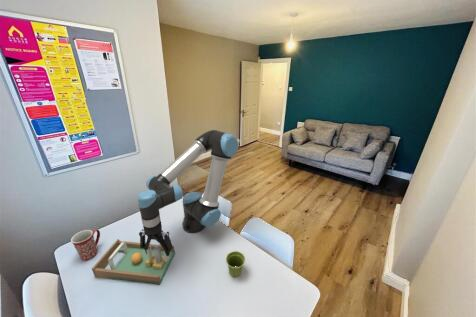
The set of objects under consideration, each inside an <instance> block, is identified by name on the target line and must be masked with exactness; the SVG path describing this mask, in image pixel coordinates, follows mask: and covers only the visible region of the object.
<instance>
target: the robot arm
mask: <svg viewBox="0 0 476 317" xmlns="http://www.w3.org/2000/svg"><path fill="white" fill-rule="evenodd" d="M210 150H211V152H210V156H211V157H212V158H211V159H212V160H211V163H210V167H209V170H208V174H207V179H206V182H205V187H204V190H203V195H202V193H201V192H199V191H191V192H188V193H186V194H185V195H184V192H183V189H182V187H181V186H180V185H179V184H174V185H171V184H172V183H173V182H174V181H175V180H176V179H177V178H178V177H179V176H180V175H182V173H184V171H186V169H187V168H189V167H190V166H191V165H192V164H193V163H194V162H195V161H196V160H197V159H198V158H199V157H200V156H201V155H202V154H206V153H207V152H209V151H210ZM238 150H239V141H238V138H237V137H236V136H235V135H234V134H231V133H228V132H223V131H219V130H216V129H211V130H208V131H205V132H204V133H202V134H200V135H199V136H198V137H197V138H196V139H194V140H193V143H192V145H190V146H189V147H188V148H187V149H186V150H185V151H183V153H182V154H179V156H178V157H177V158H176V159H174V160H173V161H172V162H171V163H170V164H169V165H168V166H167V167H165V169H164V170H162V171H161V172H160V173H159V174H158V175H153V176H152V175H151V176H150V177H149V178H147V180H146V187H147V189H148V190H144V191H141V192H139V194H138V195H137V205H138V206H137V207H138V209H139V213H140V218H141V223H142V227H143V229H141V230H140V232H138V235H139V243H140V248H141V249H142V248H144V250H145V252H146V254H147V255H148V260H151V258H152V256H153V254H152V250H151V246H149V245H150V244H151V242H152V240H155V241H156V242H157V243H159V245H161V246H162V248H163V249H164V258H165V262H167V261H168V259H169V254H170V251H171V250H172V248H173V246H174V245H173V243H172V240H171V238H170V232H169V231H166V232H164V230H162V229H163V226H162V219H161V216H160V214H161V213H160V210H161V209H163V208H165V207H167V206H169V205H172V204H174V203H176V202H178V201H180V200H181V199H182V208H183V220H182V224H181V225H182V229H183V231H185V232H187V233H188V234H190V233H191V234H196V233H199V232H201V231H202V230H204V229H205V228H206V227H207V228H210V227H213V226H214V225H216V224H217V223H218V222H219V220H220V219H221V215H222V214H221V210H220V209H219V207H220V203H219V202H220V201H219V196H220V192H221V188H222V184H223V180H224V176H225V173H226V168H227V165H228V161H230V160H231V159H232V157H235V155H236V154H237V152H238ZM146 236H147V239H146ZM145 243H146V244H145Z"/></svg>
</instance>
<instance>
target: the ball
mask: <svg viewBox="0 0 476 317" xmlns="http://www.w3.org/2000/svg"><path fill="white" fill-rule="evenodd" d="M141 260H142V255H141V253H135V254H133V255H132V257H131V261H132V263H134V264H137V263H139V262H140V261H141Z"/></svg>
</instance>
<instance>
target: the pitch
mask: <svg viewBox="0 0 476 317" xmlns="http://www.w3.org/2000/svg"><path fill="white" fill-rule="evenodd" d="M145 244H146V242H145ZM156 245H157V244H153V243H150V245H149V246H151V250H152V254H154V249H153V248H154V246H156ZM159 245H160V244H159ZM160 249H161V254H162V256H164V249H163V248H162V246H161V245H160ZM118 253H122V254H124V255H123V257H122V258H121V259H120V260H119V262H117V265H115V264H114V259H113V258H115V256H116V255H117V254H118ZM135 253H141V255H142V260H141V261H140V262H139V263H137V264H134V263H132V261H131V257H132V255H133V254H135ZM175 255H176V249H175V245H173V248H172V250H171V251H170V254H169V259H168V261H167V262H164V264H163V266H162V268H161V269H153V264H151V266H150V267H146V265H145V262H146V260H147V258H148V255H147V254H146V252H145V250H144V248H142V249H141V248H140V242H133V241H126V240H120V239H116V240H115V242H114V243H112V245H111V246H110V247H109V248H108V249H107V251H106V252H105V253H104V254H103V255H102V256H101V257H100V258H99V260H98V261H97V262H96V263H95V264H94V265H93V266H92V267H91V271H92V273H93V275H94V278H98V279H106V280H107V279H108V280H116V281H121V282H122V281H123V282H124V281H125V282H131V283H132V282H133V283H140V284H147V285H149V284H150V285H158V286H159V285H161V284H162V281H163V279H164V277H165V274H166V273H167V271H168V269H169V266H170V265H171V263H172V260H173V258H174V256H175ZM154 257H155V254H154ZM108 265H109V268H106V267H107V266H108Z"/></svg>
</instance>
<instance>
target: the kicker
mask: <svg viewBox="0 0 476 317" xmlns="http://www.w3.org/2000/svg"><path fill="white" fill-rule="evenodd" d="M153 249H154V254H155V257H154V254H153V256H152V258H151V260H148V258H147V260H146V262H145V265H146V267H150V266H151V264H153V269H161V268H162V266H163V264H164V262H165V258H164V256H162V254H161V249H160V244H156V246H154V248H153Z"/></svg>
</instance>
